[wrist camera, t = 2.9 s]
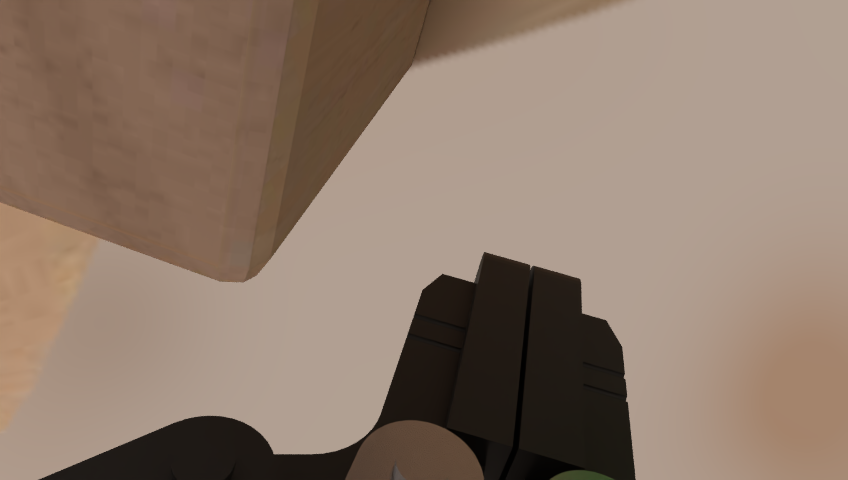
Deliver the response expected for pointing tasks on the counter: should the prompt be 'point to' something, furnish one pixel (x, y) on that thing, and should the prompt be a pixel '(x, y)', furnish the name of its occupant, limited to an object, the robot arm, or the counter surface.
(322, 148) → the wooden block
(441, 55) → the counter surface
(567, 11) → the counter surface
